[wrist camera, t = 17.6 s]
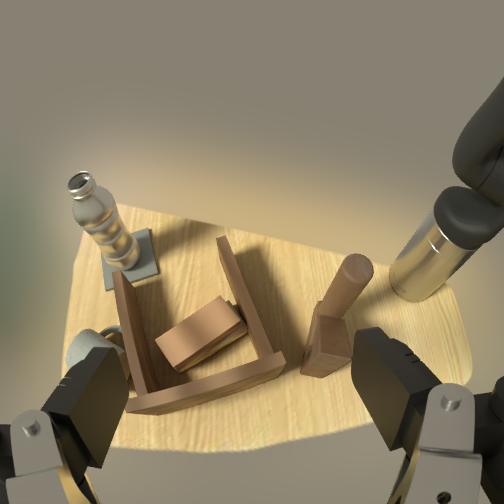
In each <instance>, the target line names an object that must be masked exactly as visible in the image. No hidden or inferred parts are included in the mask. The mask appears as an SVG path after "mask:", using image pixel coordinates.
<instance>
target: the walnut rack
mask: <svg viewBox="0 0 504 504" xmlns="http://www.w3.org/2000/svg"><path fill="white" fill-rule="evenodd" d="M216 240H217V246H218V251H219V257H220V261H221V264H222V266H223V269H224V272H225V274H226V277H227V280H228V282H229V285H230V287H231V290H232V293H233V295H234V298H235V300H236V303H237V306H238V308H239V311H240V313H241V316H242V318H243V321H244V322H245V324H246V325H247V327H248V334H249V336H250V339H251V341H252V344H253V346H254V349H255V351H256V354H257V356H258V360H255V361H253V362H250V363H247V364H244V365H241V366H239V367H236V368H233V369H230V370H227V371H224V372H221V373H218V374H215V375H212V376H209V377H205V378H202V379H199V380H196V381H192V382H189V383H186V384H182V385H179V386H175V387H172V388H168V389H165V390H161V391H160V390H159V386H158V383H157V380H156V376H155V373H154V369H153V366H152V362H151V358H150V355H149V351H148V347H147V343H146V339H145V335H144V331H143V326H142V322H141V318H140V313H139V309H138V304H137V299H136V294H135V289H134V287H133V286H132V284H131V283H130V282H129V280H128V279H127V278H126V276H125V275H124V274H123V272H122V271H121V270H118V271H115V272H112V278H113V285H114V292H115V298H116V304H117V310H118V315H119V321H120V326H121V331H122V336H123V341H124V345H125V350H126V354H127V358H128V363H129V367H130V371H131V375H132V378H133V382H134V386H135V390H136V393H137V397H134V398H130V399H128V401H127V404H126V406H125V411H126V413H133V414H144V415H157V416H158V415H162V414H166V413H170V412H174V411H177V410H181V409H185V408H188V407H192V406H195V405H199V404H202V403H205V402H209V401H212V400H215V399H218V398H221V397H224V396H227V395H231V394H233V393H236V392H239V391H242V390H245V389H248V388H251V387H254V386H256V385H259V384H262V383H264V382H267V381H270V380H272V379H275V378H278V376H279V374H280V373H281V371H282V370H283V368H284V366H285V365H286V361H285V358H284V356H283V354H282V351H279V352H277V353H274V351H273V349H272V347H271V344H270V342H269V340H268V337H267V335H266V332H265V330H264V328H263V325H262V323H261V321H260V318H259V316H258V313H257V311H256V309H255V306H254V304H253V301H252V299H251V296H250V294H249V292H248V289H247V287H246V284H245V282H244V279H243V277H242V274H241V272H240V270H239V267H238V265H237V262H236V260H235V257H234V255H233V252H232V250H231V247H230V245H229V242H228V240H227V237H226V235H225V236H222V237H219V238H216Z"/></svg>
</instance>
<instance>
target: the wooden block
mask: <svg viewBox="0 0 504 504" xmlns="http://www.w3.org/2000/svg"><path fill="white" fill-rule="evenodd" d="M373 273H374V270H373V265H372V263H371V261H370V260H369V259H368V258H367V257H365V256H364V255H361V254H351V255H349V256H347V257H346V258H345V259H344V260H343V262H342V264H341V266H340V268H339V270H338V272H337V274H336V276H335V278H334V280H333V281H332V283H331V285H330V287H329V289H328V291H327V293H326V295H325V296H324V298H323V300H322V301H318V303H317V305H316V306H315V308H314V312H313V316H312V321H311V326H310V331H309V335H308V340H307V344H306V348H305V350H306V352H305V353H304V357H303V361H302V365H301V370H300V373H301V374H303V375H307V376H312V377H317V378H323V377H325V376H327V375H328V374H330V373H331V372H333V371H335V370H337V369H338V368H340V367H341V366H343V365H345V364H346V363H348V362H349V361H351V360H352V358H351V352H350V347H349V342H348V337H347V332H346V327H345V322H344V320H341V317H342V316H343V315H344V314H345V313H346V311H347V310H348V309H349V307H350V306H351V305H352V304H353V302H354V301H355V300H356V299H357V297H358V296H359V295H360V293H361V292H362V291H363V289H364V288H365V287H366V285H367V284H368V283H369V281H370V280H371V279H372V277H373Z"/></svg>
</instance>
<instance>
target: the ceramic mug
mask: <svg viewBox="0 0 504 504" xmlns="http://www.w3.org/2000/svg"><path fill="white" fill-rule="evenodd" d="M114 332H119V333H122V331H121V326H118V325H117V326H111V327H108V328H106V329H104V330H103V331H101V332H100V333H99V334H98V333H97V332H95V331H94V330H91V329H85V330H83V331H81V332H80V333H79V334H78V335H77V336H76V337H75V338H74V339H73V341H72V342H71V344H70V346H69V348H68V351H67V356H66V363H67V367H68V369H70V368H71V367H72V366H74V365H75V364H76V363H78V362H79V361H81V360H84V358H85V357H86V356H87V354H88V353H89V352H90V350H91V349H92V348H93V347H114V348H115V349H116V350H117V352H118V355H119V358H120V361H121V365H122V368H123V371H124V374H125V377H126V380H128V378H129V376H130V373H131V371H130V367H129V363H128V358H127V354H126V351H125V350H124V349H122V348H121V347H119V346H117V345H116V344H114V343H112V342H111V341H109V340H108V339H106V338H105V337H106V336H107V335H109V334H111V333H114Z"/></svg>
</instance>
